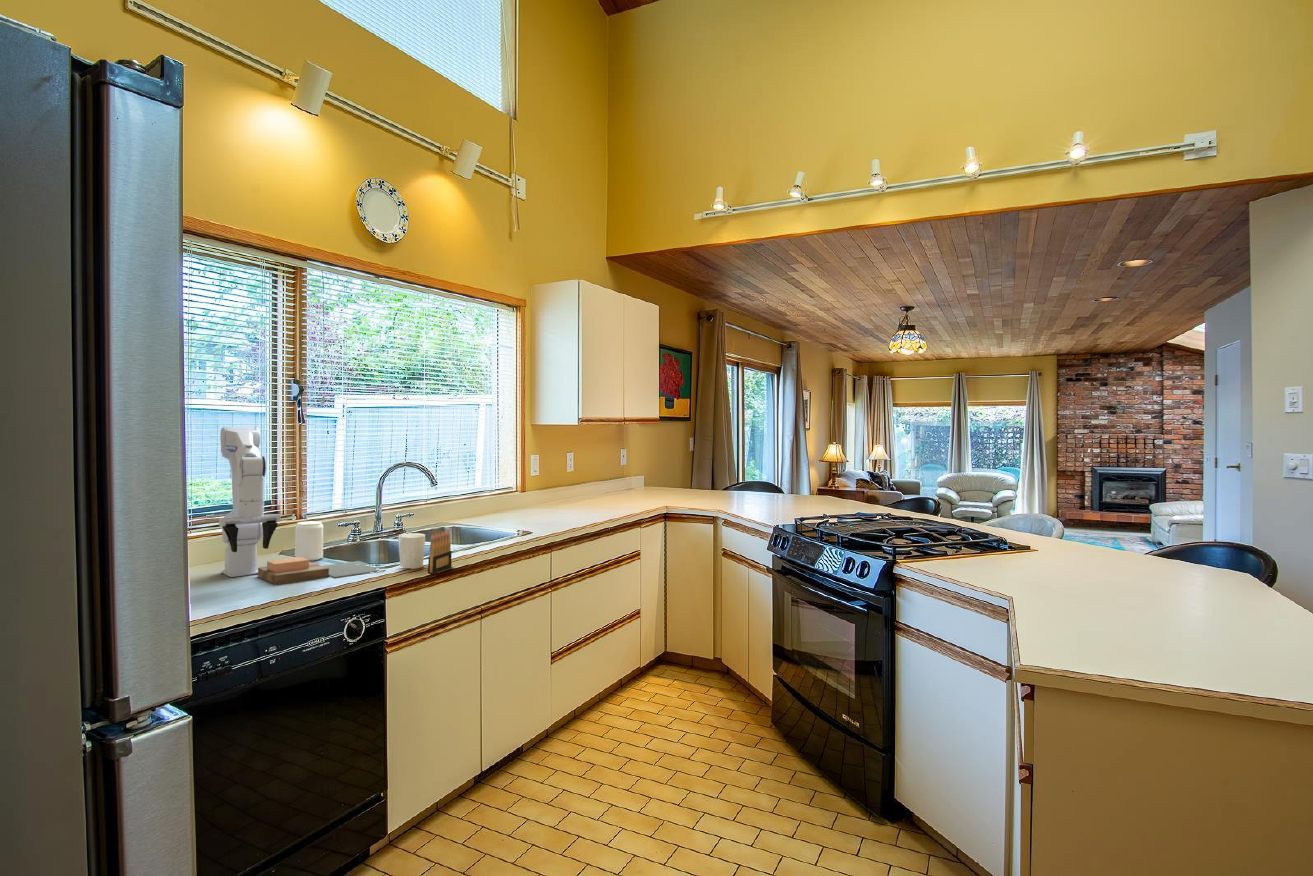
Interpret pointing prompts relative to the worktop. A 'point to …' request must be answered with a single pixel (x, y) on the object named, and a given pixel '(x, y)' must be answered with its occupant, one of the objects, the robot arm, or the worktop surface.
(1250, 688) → the worktop surface
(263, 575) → the brown wooden flat slab
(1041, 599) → the worktop surface
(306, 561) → the tile
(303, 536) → the beverage can
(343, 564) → the mat
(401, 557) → the white cup
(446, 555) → the ammunition clip
